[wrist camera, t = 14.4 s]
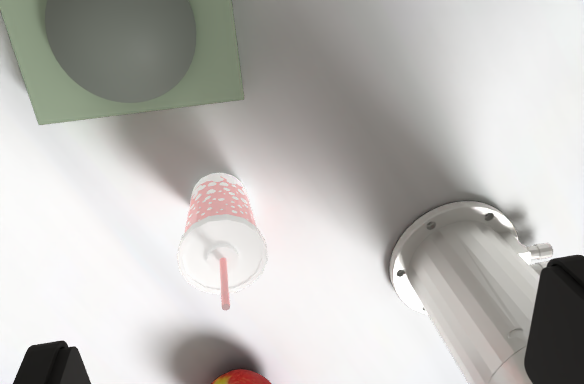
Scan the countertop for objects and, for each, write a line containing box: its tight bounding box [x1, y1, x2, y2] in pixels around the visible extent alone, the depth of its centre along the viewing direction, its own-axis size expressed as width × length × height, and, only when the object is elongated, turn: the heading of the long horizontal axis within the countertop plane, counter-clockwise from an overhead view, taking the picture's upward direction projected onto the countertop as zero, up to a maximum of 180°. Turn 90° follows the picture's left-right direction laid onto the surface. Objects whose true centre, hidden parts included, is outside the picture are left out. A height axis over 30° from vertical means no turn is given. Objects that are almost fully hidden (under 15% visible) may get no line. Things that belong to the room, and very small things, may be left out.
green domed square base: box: [0, 0, 244, 125], centre depth 33 cm, size 14×12×4 cm
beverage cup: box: [177, 173, 267, 310], centre depth 36 cm, size 6×6×14 cm
